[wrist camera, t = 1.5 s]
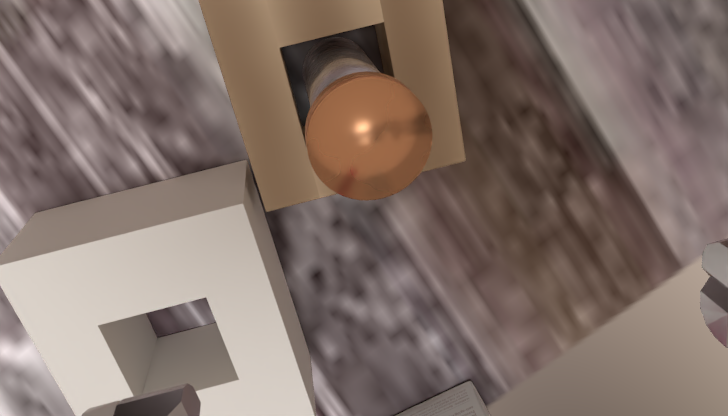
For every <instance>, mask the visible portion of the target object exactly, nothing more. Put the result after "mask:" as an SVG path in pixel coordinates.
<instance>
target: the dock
mask: <svg viewBox="0 0 728 416" xmlns="http://www.w3.org/2000/svg"><path fill="white" fill-rule="evenodd" d="M0 286H1V288H2V289H3V291H4V293H5V295H6V296H7V298H8V300H9V302H10V303H11V305H12V307H13V308H14V310H15V312H16V314H17V315H18V317H19V319H20V320H21V322H22V324H23V326H24V327H25V329H26V331H27V333H28V334H29V336H30V338H31V339H32V341H33V343H34V345H35V346H36V348H37V350H38V352H39V353H40V355H41V357H42V358H43V360H44V362H45V364H46V365H47V367H48V369H49V370H50V372H51V374H52V376H53V377H54V379H55V381H56V383H57V384H58V386H59V388H60V389H61V391H62V393H63V395H64V396H65V398H66V400H67V402H68V403H69V405H70V407H71V408H72V410H73V412H74V414H75V415H76V416H81V415H82V414H83V413H84V412H85V411H86V410H87V409H89V408H91V407H95V406H99V405H103V404H107V403H111V402H114V401H120V400H122V399H125V398H129V397H133V396H138V395H142V394H146V393H150V392H154V391H158V390H162V389H166V388H170V387H174V386H178V385H182V384H186V383H188V384H190V385H191V386H193V387H194V389H195V391H196V393H197V395H198V398H199V400H200V402H201V407H200V416H316V408H315V398H314V388H313V378H312V368H311V358H310V354H309V350H308V347H307V344H306V341H305V338H304V335H303V332H302V329H301V326H300V322H299V319H298V316H297V313H296V310H295V307H294V304H293V301H292V298H291V295H290V291H289V288H288V285H287V282H286V279H285V276H284V273H283V270H282V267H281V263H280V260H279V257H278V254H277V251H276V248H275V245H274V242H273V239H272V236H271V232H270V229H269V226H268V223H267V220H266V217H265V214H264V211H263V208H262V204H261V201H260V198H259V195H258V192H257V189H256V186H255V183H254V180H253V177H252V173H251V170H250V167H249V164H248V161H247V160H243V161H239V162H235V163H231V164H227V165H223V166H219V167H215V168H211V169H207V170H203V171H199V172H195V173H191V174H187V175H183V176H180V177H176V178H172V179H168V180H164V181H160V182H156V183H152V184H148V185H144V186H140V187H136V188H132V189H128V190H124V191H120V192H116V193H112V194H108V195H104V196H100V197H96V198H92V199H88V200H84V201H80V202H76V203H72V204H68V205H64V206H61V207H57V208H53V209H49V210H45V211H41V212H37V213H35V214H34V215H33V216H32V217H31V219H30V220H29V221H28V222H27V223H26V225H25V226H24V227H23V228H22V230H21V231H20V232H19V233H18V234H17V236H16V237H15V238H14V239H13V241H12V242H11V243H10V244H9V245H8V247H7V248H6V249H5V250H4V252H3V253H2V254H1V255H0ZM205 297H206V298H207V301H208V303H209V306H210V308H211V311H212V313H213V316H214V318H215V321H216V323H213V324H209V325H205V326H202V327H198V328H194V329H190V330H186V331H183V332H179V333H175V334H171V335H167V336H164V337H160V338H157V336H156V334H155V332H154V330H153V328H152V325H151V323H150V321H149V319H148V317H147V315H146V313H148V312H151V311H155V310H159V309H163V308H167V307H171V306H175V305H178V304H182V303H186V302H190V301H194V300H198V299H201V298H205Z"/></svg>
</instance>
